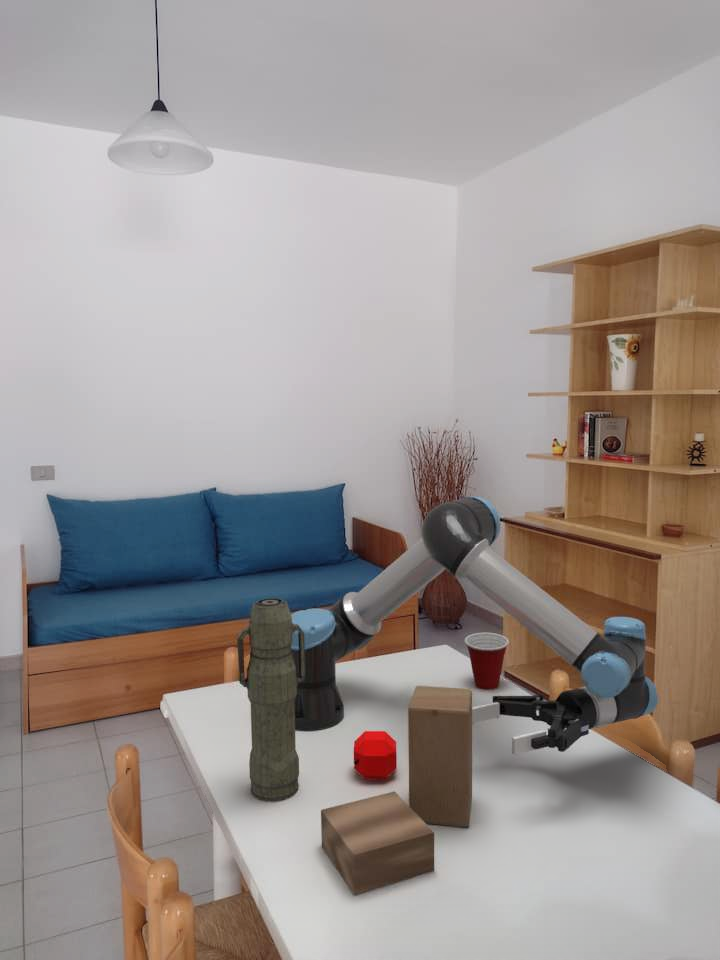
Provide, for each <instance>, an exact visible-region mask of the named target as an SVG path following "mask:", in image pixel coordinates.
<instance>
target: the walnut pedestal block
mask: <svg viewBox="0 0 720 960" xmlns="http://www.w3.org/2000/svg"><path fill="white" fill-rule="evenodd" d="M320 823H321V824H320V826H321V827H320V828H321V831H320V832H321V847H322V849H323V851H324V852H325V853H326V854H327V856H328V858H329V859H330V861H331V863H332V864H333V865H334V867H335V868H336V870H337V871H338V873H339V874H340V876H341V877H342V879H343V880H344V882H345V883H346V885H347V886H348V887H349V889H350V890H351V892H352V893H353V896H358V895H360V894H364V893H368V892H369V891H373V890H377V889H380V888H383V887H385V886H389V885H393V884H396V883H400V882H402V881H406V880H408V879H411V878H415V877H419V876H422V875H426V874H428V873H430V872H434V871H435V832H434V831H433V830H432V829H431V827H430V826H429V825H428V823H425V822H424V821H423V820H422V819H421V818H420V817H419V816H418V815H417V814H416V813H415V812H414V811H413V810H412V809H411V808H410V807H409V804H408V803H407V802H405V800H404V799H403V798H402V797H401V796H400V795H399V794H398V793H397V792H396V791H394V790H393V791H390V792H386V793H382V794H378V795H375V796H370V797H367V798H363V799H359V800H353V801H352V802H351V801H350V802H347V803H343V804H342V803H341V804H338V805H335V806H331V807H327V808H323V809H320Z"/></svg>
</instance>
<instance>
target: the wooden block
mask: <svg viewBox="0 0 720 960" xmlns="http://www.w3.org/2000/svg"><path fill="white" fill-rule="evenodd" d="M472 691H473V690H472V689H471V688H462V687H461V688H460V687H445V686H443V687H442V686H429V685H428V686H427V685H416V686H415V688H414V690H413V694H412V696H411V699H410V702H409V705H408V707H407V708H408V709H407V713H408V714H407V716H408V717H407V718H408V719H407V721H408V722H407V725H408V726H407V728H408V729H407V730H408V731H407V732H408V734H407V735H408V736H407V737H408V744H407V745H408V806H409V807H410V808H411V809H412V810H413V811H414V812H415V813H416V814H417V815H418V816H419V817H420V818H421V819H422V820H423V821H424V822H425V823H426V824H432V825H438V826H439V825H441V826H450V827H461V828H468V827H469V826H470V823H471V822H470V821H471V811H472V801H473V723H472V707H473V692H472Z"/></svg>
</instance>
